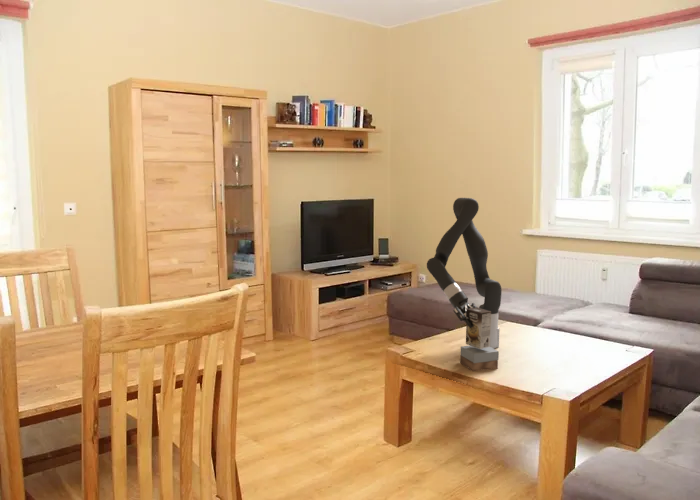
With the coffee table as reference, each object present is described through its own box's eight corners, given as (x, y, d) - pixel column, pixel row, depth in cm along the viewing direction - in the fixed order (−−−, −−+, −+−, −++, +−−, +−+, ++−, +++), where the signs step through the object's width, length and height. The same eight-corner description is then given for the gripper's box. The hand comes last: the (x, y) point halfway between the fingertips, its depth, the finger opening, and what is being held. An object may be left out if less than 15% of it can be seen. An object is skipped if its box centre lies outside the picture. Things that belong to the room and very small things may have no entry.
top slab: (483, 352, 281) (484, 343, 281) (498, 360, 270) (498, 351, 269) (460, 355, 277) (460, 346, 277) (474, 363, 266) (474, 354, 266)
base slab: (484, 361, 281) (484, 352, 281) (497, 369, 270) (497, 360, 269) (460, 363, 278) (460, 355, 277) (472, 372, 266) (473, 363, 266)
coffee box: (465, 344, 274) (465, 308, 272) (475, 341, 278) (476, 306, 276) (480, 349, 267) (481, 312, 264) (490, 346, 270) (491, 310, 268)
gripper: (451, 292, 271) (473, 323, 265) (469, 288, 281) (491, 317, 275) (441, 302, 275) (462, 333, 269) (459, 297, 286) (480, 327, 279)
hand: (476, 325), depth 272 cm, fingers closed on coffee box, 7 cm apart
